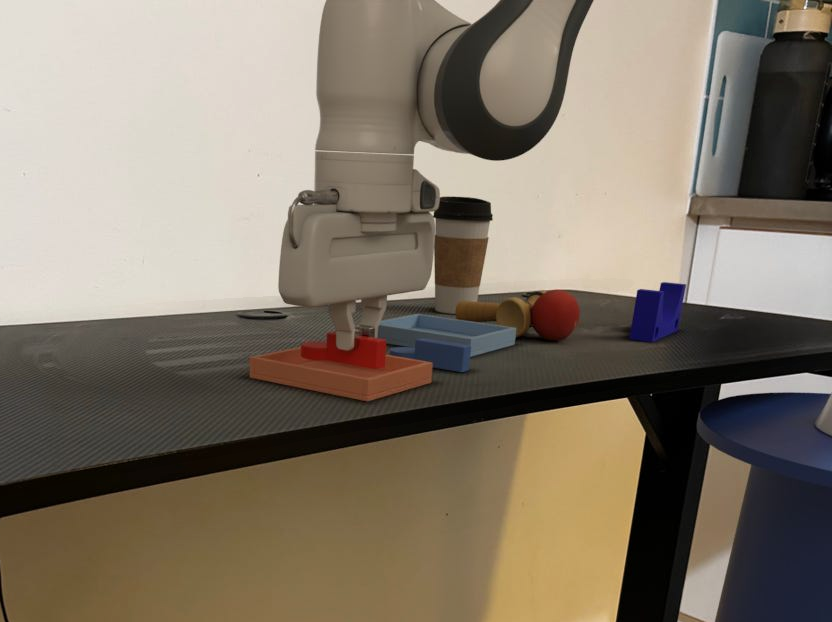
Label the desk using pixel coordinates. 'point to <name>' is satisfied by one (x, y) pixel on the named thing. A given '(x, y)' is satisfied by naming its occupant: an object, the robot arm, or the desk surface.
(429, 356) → the blue stepped block
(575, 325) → the kendama
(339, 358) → the red stepped block
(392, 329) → the blue tray
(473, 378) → the desk surface
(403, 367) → the red tray
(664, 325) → the cable clip
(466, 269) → the coffee cup
